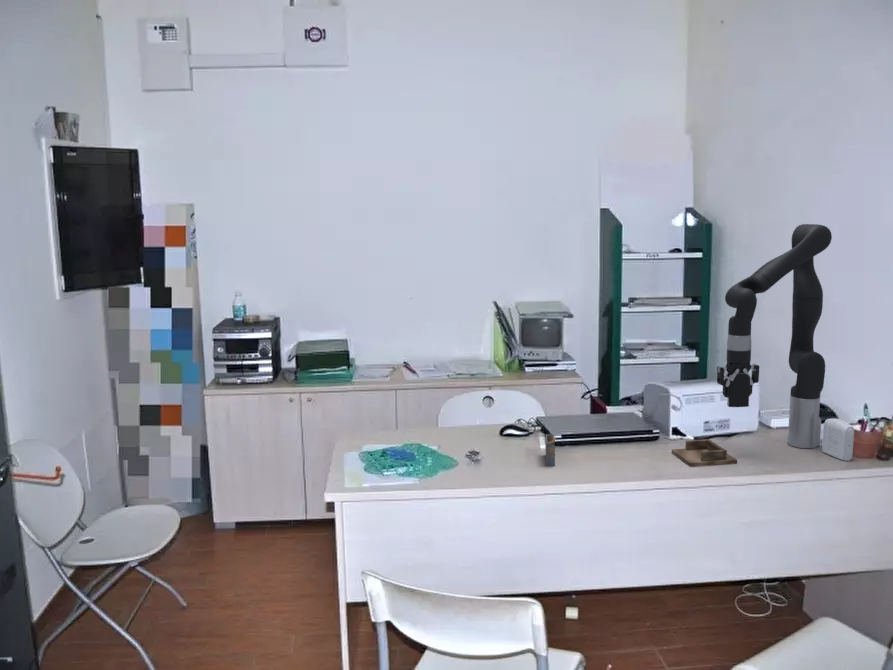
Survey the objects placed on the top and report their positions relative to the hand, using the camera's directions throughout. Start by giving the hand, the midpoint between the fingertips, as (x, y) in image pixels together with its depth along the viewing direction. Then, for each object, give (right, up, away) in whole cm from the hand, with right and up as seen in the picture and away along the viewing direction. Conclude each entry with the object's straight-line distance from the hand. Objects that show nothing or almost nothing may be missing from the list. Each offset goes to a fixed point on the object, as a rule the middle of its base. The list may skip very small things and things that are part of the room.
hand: (737, 396), depth 257 cm
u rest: (-12, -20, -2) cm, 24 cm away
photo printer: (+32, -20, -3) cm, 37 cm away
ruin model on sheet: (-62, -22, -1) cm, 66 cm away
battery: (0, -4, +1) cm, 4 cm away
